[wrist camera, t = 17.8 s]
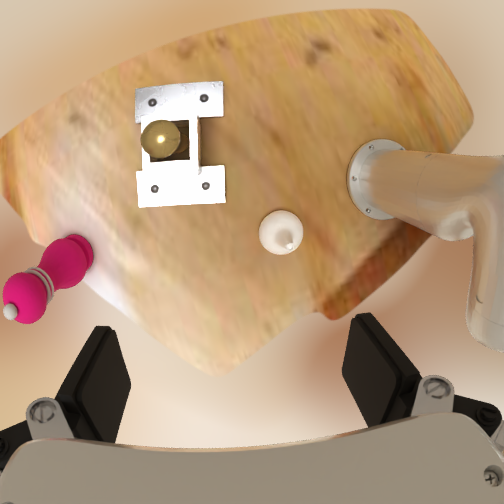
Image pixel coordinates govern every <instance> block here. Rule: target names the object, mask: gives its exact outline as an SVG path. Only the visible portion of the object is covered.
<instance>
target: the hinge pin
mask: <svg viewBox="0 0 504 504" xmlns="http://www.w3.org/2000/svg"><path fill="white" fill-rule="evenodd" d="M188 144H189V141H188V138H187V137H186V136H185V135H184V134H182V133H180V132H179V130H178V128H177V127H176V125H175V124H173V123H172V122H170V121H168V120H165V119H158V120H154V121H152V122H150V123H149V124H148V125H147V126H146V127H145V128H144V130H143V132H142V134H141V145H142V148H143V150H144V151H145V152H146V153H147V154H148V155H149V156H151V157H155V158H164V157H167V156H169V155H171V154H172V153H182V152H184V151H185V150H186V149H187V147H188Z"/></svg>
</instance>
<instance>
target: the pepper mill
mask: <svg viewBox="0 0 504 504" xmlns="http://www.w3.org/2000/svg"><path fill="white" fill-rule="evenodd" d="M92 262H93V251H92V248H91V246H90V244H89V243H88V241H87V240H86V239H85V238H83V237H82V236H79V235H69V236H67V237H66V238H63V239H58V240H55V241H54V242H52V243H51V244H50V245H49V246H48V247H47V248H46V250H45V252H44V253H43V256H42V259H41V262H40V264H39V265H38V266H37V267H31V268H29V269H27V270H26V271H25V272H21V273H16V274H14V275H13V276H11V277H10V278H9V279H8V281H7V282H6V284H5V286H4V289H3V302H4V305H5V307H4V310H3V312H4V315H5V317H6V318H7V319H9V320H13V319H15V320H16V321H18V322H20V323H23V324H31V323H34V322H36V321H37V320H39V319H40V318H41V317H42V315H43V314H44V312H45V310H46V306H47V304H48V303H49V302H50V301H51V300H52V298H53V296H54V292H55V291H56V290H58V289H66V288H70V287H73V286H75V285H76V284H78V283H79V282H80V281H81V280H82V279H83V277H84V276H85V273H86V271H87V270H88V269H89V268H90V266H91V264H92Z"/></svg>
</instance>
